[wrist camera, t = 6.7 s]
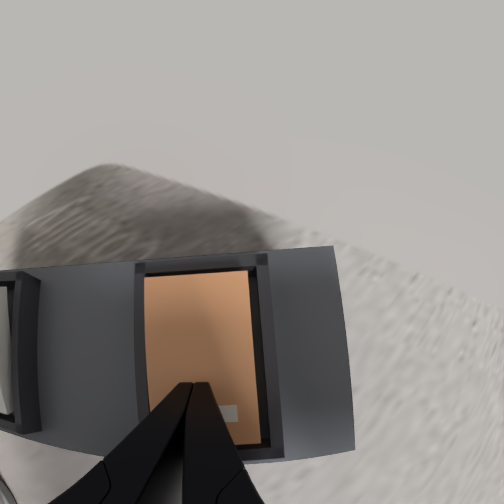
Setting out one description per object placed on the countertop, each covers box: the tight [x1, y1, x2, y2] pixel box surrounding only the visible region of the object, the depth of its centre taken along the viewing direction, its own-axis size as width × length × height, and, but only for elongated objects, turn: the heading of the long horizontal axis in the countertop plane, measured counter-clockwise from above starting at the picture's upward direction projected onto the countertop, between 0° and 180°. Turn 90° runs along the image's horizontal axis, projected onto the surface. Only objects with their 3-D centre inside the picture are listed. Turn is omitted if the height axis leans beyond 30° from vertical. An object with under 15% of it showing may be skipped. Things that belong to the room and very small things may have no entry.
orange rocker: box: [144, 271, 261, 445], centre depth 9 cm, size 5×3×1 cm, turn 4°
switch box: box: [0, 246, 355, 464], centre depth 14 cm, size 8×20×10 cm, turn 94°
